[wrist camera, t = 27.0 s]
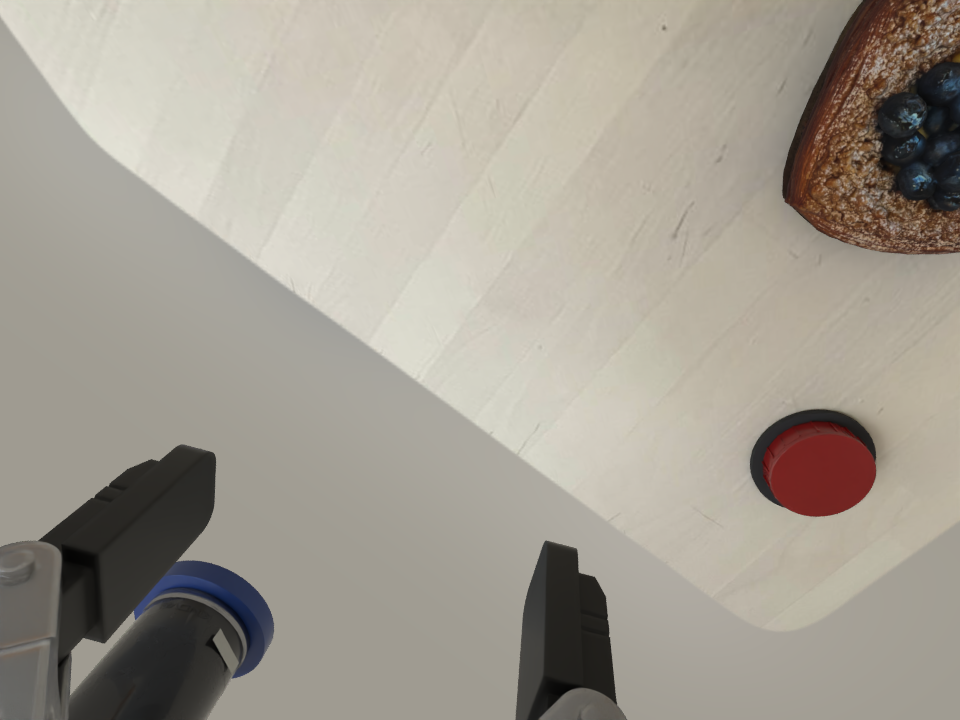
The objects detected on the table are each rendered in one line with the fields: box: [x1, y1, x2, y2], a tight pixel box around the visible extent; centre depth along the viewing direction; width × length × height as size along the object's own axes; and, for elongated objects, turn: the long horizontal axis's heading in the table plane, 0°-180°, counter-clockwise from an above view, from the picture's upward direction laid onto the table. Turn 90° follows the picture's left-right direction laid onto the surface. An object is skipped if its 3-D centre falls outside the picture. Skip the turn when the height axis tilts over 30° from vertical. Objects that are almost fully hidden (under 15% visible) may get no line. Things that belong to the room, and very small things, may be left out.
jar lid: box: [762, 421, 876, 517], centre depth 34 cm, size 6×6×2 cm
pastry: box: [782, 0, 960, 254], centre depth 25 cm, size 11×12×6 cm
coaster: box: [750, 410, 876, 508], centre depth 35 cm, size 7×7×1 cm
